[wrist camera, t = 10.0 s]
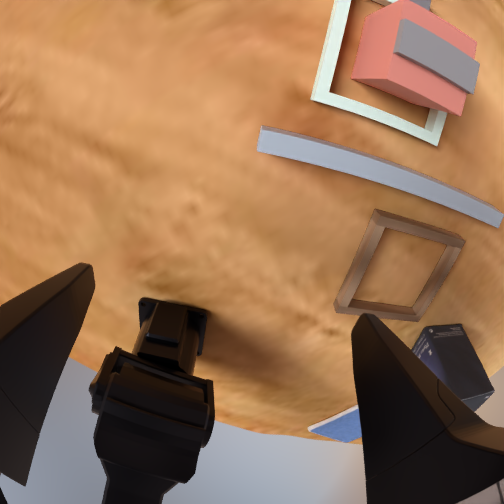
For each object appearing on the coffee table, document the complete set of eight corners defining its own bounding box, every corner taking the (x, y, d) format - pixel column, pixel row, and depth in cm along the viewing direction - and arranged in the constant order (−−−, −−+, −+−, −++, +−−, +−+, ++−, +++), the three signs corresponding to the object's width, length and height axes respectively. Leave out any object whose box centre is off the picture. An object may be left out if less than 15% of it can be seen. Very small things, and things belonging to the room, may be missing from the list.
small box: (421, 325, 28) (456, 402, 19) (462, 321, 28) (498, 389, 19) (388, 380, 34) (408, 448, 25) (427, 375, 34) (449, 436, 25)
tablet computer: (414, 367, 33) (417, 374, 32) (438, 390, 38) (440, 396, 37) (304, 424, 41) (305, 431, 40) (345, 438, 45) (346, 444, 44)
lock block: (412, 103, 17) (467, 118, 11) (350, 78, 16) (391, 78, 11) (426, 45, 14) (483, 42, 9) (365, 16, 14) (409, -5, 8)
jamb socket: (414, 313, 27) (418, 321, 26) (333, 303, 26) (335, 312, 25) (458, 234, 22) (465, 241, 21) (374, 208, 21) (380, 215, 20)
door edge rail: (486, 218, 21) (498, 228, 19) (256, 144, 19) (256, 151, 17) (492, 205, 20) (504, 214, 19) (261, 125, 18) (262, 129, 17)
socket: (429, 142, 18) (436, 146, 17) (310, 99, 17) (313, 100, 16) (457, 23, 13) (466, 22, 12) (342, -33, 12) (346, -39, 11)
